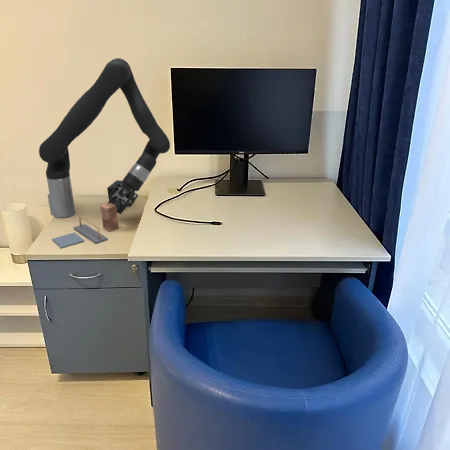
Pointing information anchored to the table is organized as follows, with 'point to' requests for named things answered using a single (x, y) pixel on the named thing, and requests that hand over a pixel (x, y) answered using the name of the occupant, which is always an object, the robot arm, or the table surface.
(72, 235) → the mat
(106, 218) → the block
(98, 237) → the board with wooden handle
